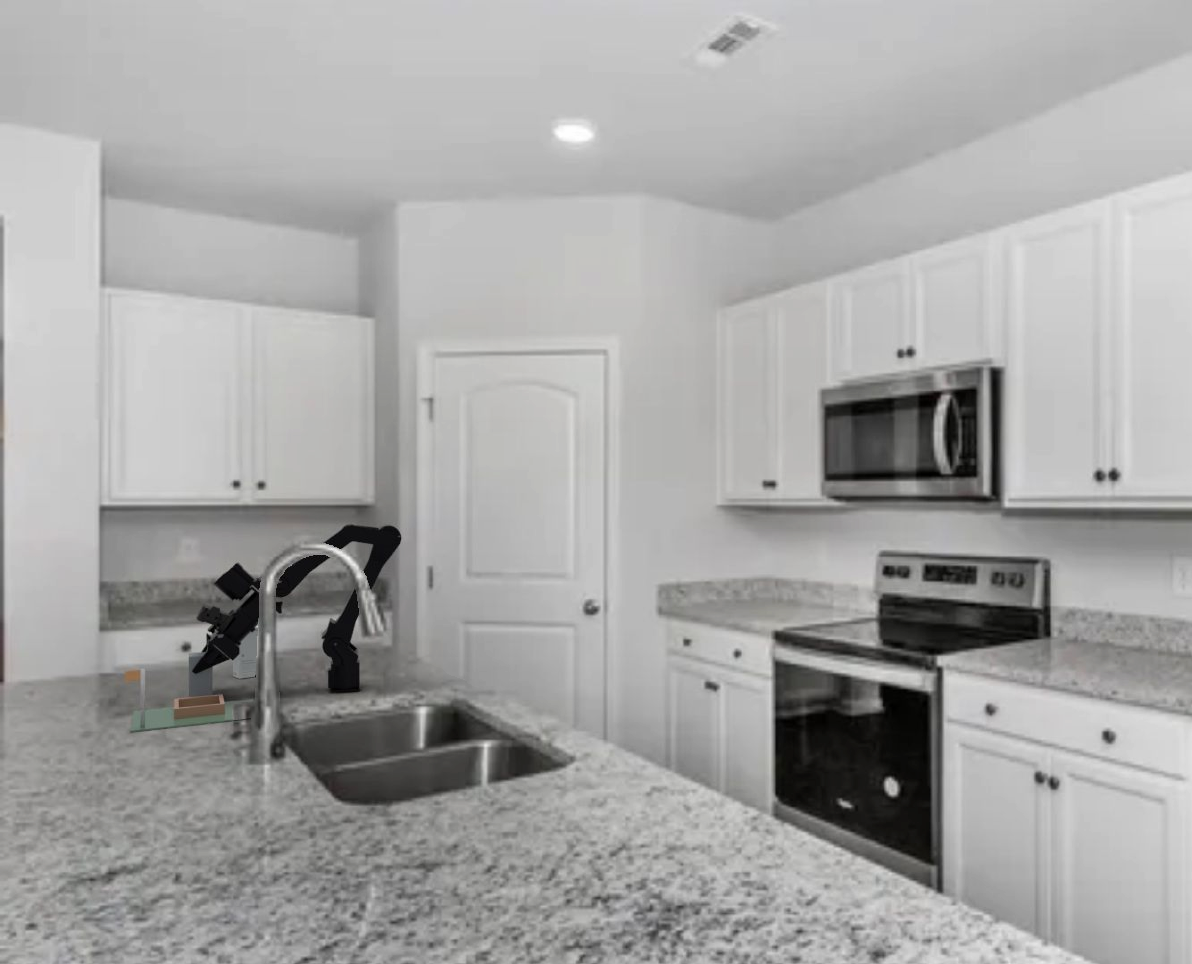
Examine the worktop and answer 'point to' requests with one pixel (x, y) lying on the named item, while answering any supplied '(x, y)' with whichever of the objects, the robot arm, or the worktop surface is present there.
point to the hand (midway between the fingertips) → (193, 670)
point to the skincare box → (246, 656)
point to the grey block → (199, 678)
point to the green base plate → (179, 709)
